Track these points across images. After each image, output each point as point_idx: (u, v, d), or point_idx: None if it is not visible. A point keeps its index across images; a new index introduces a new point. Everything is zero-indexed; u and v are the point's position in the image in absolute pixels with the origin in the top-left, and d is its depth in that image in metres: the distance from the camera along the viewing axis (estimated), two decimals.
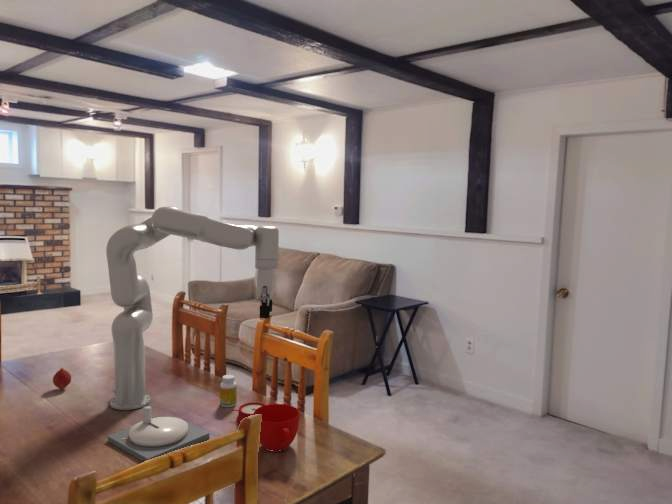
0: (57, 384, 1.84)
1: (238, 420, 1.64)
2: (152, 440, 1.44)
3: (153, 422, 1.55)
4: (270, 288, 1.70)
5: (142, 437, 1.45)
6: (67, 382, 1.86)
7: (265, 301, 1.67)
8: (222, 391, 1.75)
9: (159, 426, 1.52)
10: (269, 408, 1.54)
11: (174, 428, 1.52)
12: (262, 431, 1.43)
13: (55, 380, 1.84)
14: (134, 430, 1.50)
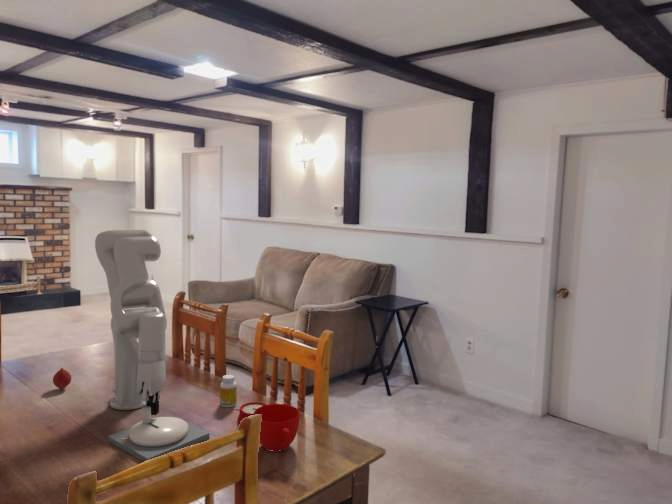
0: (57, 384, 1.84)
1: (239, 420, 1.64)
2: (153, 440, 1.44)
3: (153, 422, 1.55)
4: (150, 384, 1.52)
5: (142, 437, 1.45)
6: (67, 382, 1.86)
7: (149, 399, 1.54)
8: (222, 391, 1.75)
9: (159, 426, 1.52)
10: (269, 408, 1.54)
11: (174, 428, 1.52)
12: (262, 431, 1.43)
13: (55, 380, 1.84)
14: (134, 430, 1.49)
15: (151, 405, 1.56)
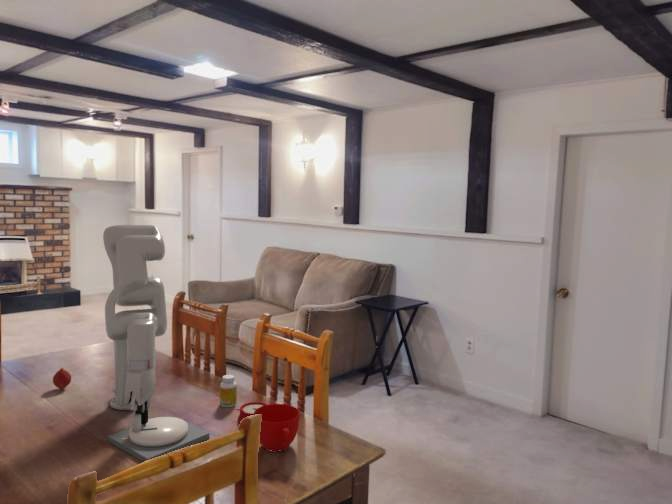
0: (57, 384, 1.84)
1: (239, 419, 1.64)
2: (178, 434, 1.48)
3: (141, 428, 1.51)
4: (139, 394, 1.47)
5: (164, 437, 1.46)
6: (67, 382, 1.86)
7: (138, 409, 1.49)
8: (222, 391, 1.75)
9: (155, 427, 1.52)
10: (269, 408, 1.54)
11: (170, 423, 1.55)
12: (262, 431, 1.43)
13: (55, 380, 1.84)
14: (142, 438, 1.45)
15: None
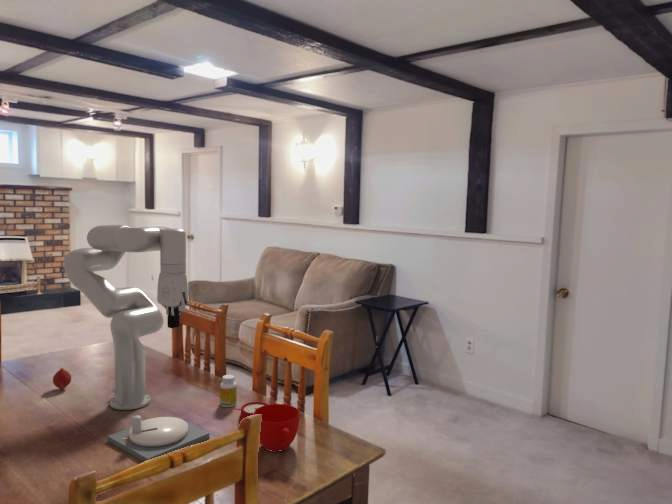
0: (57, 384, 1.84)
1: (240, 419, 1.64)
2: (181, 432, 1.49)
3: (141, 429, 1.50)
4: (187, 293, 1.61)
5: (169, 436, 1.46)
6: (67, 382, 1.86)
7: (180, 310, 1.62)
8: (222, 391, 1.75)
9: (154, 427, 1.51)
10: (269, 408, 1.54)
11: (167, 422, 1.55)
12: (262, 431, 1.43)
13: (55, 380, 1.84)
14: (146, 438, 1.45)
15: (177, 317, 1.63)
